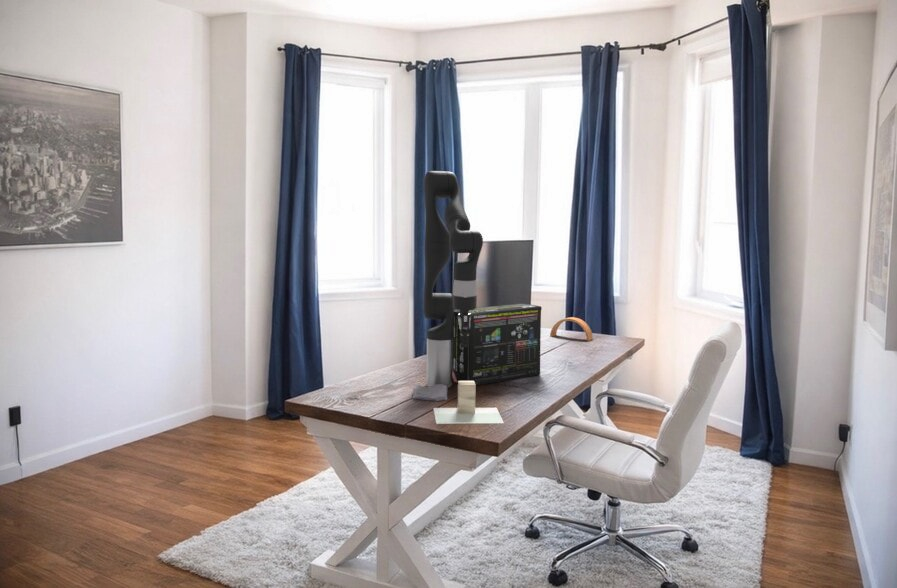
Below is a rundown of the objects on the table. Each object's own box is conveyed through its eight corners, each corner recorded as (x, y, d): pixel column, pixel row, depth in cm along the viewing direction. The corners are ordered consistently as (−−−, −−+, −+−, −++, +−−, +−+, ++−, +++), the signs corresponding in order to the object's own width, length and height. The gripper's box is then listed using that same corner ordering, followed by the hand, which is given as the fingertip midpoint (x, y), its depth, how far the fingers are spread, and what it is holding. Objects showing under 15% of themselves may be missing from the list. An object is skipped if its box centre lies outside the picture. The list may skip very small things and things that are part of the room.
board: (433, 409, 224) (433, 407, 224) (496, 409, 226) (496, 407, 226) (436, 425, 209) (436, 423, 209) (504, 425, 210) (504, 423, 210)
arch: (588, 341, 342) (589, 320, 340) (549, 336, 352) (550, 316, 351) (592, 339, 347) (593, 319, 345) (554, 335, 357) (555, 315, 356)
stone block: (448, 408, 234) (447, 394, 243) (448, 394, 232) (447, 381, 242) (412, 409, 233) (412, 395, 243) (411, 395, 232) (412, 382, 241)
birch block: (457, 408, 224) (457, 380, 223) (473, 408, 224) (473, 380, 223) (458, 413, 219) (459, 384, 218) (475, 413, 219) (475, 384, 218)
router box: (522, 369, 281) (524, 302, 278) (541, 375, 272) (544, 306, 269) (448, 381, 261) (449, 309, 257) (466, 388, 252) (467, 313, 248)
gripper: (452, 290, 232) (451, 339, 234) (453, 297, 218) (452, 349, 220) (475, 290, 232) (474, 339, 235) (478, 297, 218) (477, 349, 221)
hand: (463, 344), depth 227 cm, fingers open, 8 cm apart
